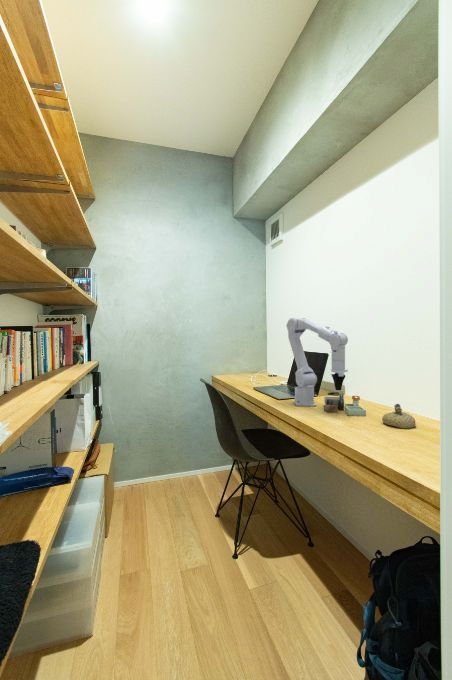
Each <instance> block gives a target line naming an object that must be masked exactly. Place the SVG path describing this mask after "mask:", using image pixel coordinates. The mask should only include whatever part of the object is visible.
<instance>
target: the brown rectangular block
mask: <svg viewBox="0 0 452 680" xmlns="http://www.w3.org/2000/svg"><path fill="white" fill-rule="evenodd" d="M338 411H339V406H336V405H325V404H323V412H325V413H326V414H333V413H335V414H336V413H337V414H338Z"/></svg>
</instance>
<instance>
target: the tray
mask: <svg viewBox="0 0 452 680" xmlns="http://www.w3.org/2000/svg"><path fill="white" fill-rule="evenodd" d="M352 408H353V406H345V405H344V412H345V413H346V415H347V416H352V417H367V409H365V407H363V406H360V405H359V406H358V410H352Z"/></svg>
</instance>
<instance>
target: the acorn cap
mask: <svg viewBox="0 0 452 680" xmlns="http://www.w3.org/2000/svg"><path fill="white" fill-rule="evenodd" d="M381 419H382V423H384V424H385V425H387V426H392V427H395V428H399V429H413V428H414V427H416V419H415V418H414V417H413V416H412V415H411V414H409V413H407V412H404V411H403V409H402V408H401V405H400V403H396V404H395V405H394V411H392V412H388V413H385V414H383V416H382V418H381Z"/></svg>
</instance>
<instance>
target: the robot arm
mask: <svg viewBox="0 0 452 680" xmlns="http://www.w3.org/2000/svg"><path fill="white" fill-rule="evenodd" d="M285 326H286V328H287V329H286V330H287V333H288V334H287V335H288V336H287V337H288V342H289V345H290V347H291V351H292V354H293V357H294V361H295V363H296V367H297V369H296V371H295V373H294V375H295V382H296V383H295V384H296V385H297V386H294V404H295V406H299V407H300V406H301V407H316V403H315V386H316V384H317V382H318V377H317V374H315V372H314V369H312V368H311V367H310V366H309V364H308V361H307V357H306V355H305V351H304V348H303V343H302V341H301V336H303V334H304V333H305V332H306V331H307V330H309V331H310V332H313V333H315V334H317V336H318V338H320V339H321V340H324V341H325V342H328V343H329V345H330V349H331V369H330V372H331V373H332V374H331V373H330V375H331V377H332V380H333V383H334V389H335V391H342V388H343V387H342V386H343V383H344V380H345V378H346V374H345V373H348V372H349V370H348V369H346V345H347V344H348V341H349V340H348V336H347V334H345V333H343V332H341V333H339V332H338V330H333V329H331V328H330V326H328V325H327V326H322V327H321V326H320V325H317V324H316V323H314V322H313V321H311V320H310V319H307V318H303V317H302V318H300V317H299V318H298V317H297V318H296V317H291V318H289V319H288V321H287V322H286V325H285Z"/></svg>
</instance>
